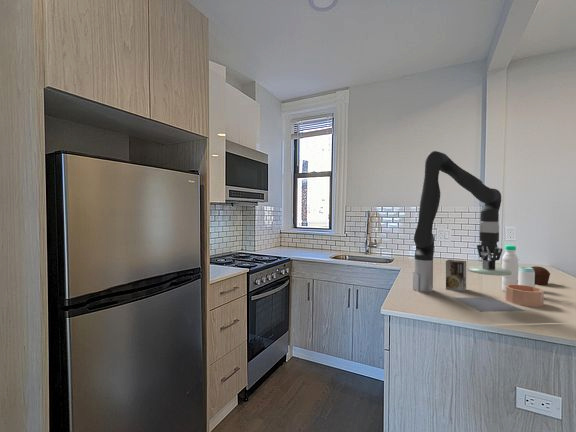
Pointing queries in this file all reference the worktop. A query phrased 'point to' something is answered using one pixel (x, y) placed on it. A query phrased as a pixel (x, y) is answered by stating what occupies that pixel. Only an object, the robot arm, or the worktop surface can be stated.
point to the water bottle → (510, 266)
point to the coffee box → (456, 275)
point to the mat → (487, 304)
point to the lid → (489, 270)
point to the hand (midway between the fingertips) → (488, 267)
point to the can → (526, 276)
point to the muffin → (541, 275)
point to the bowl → (524, 295)
